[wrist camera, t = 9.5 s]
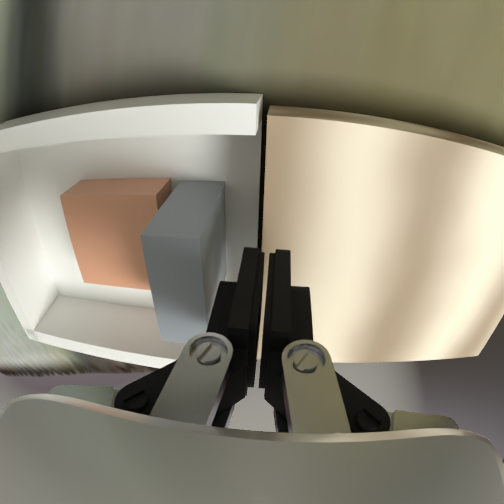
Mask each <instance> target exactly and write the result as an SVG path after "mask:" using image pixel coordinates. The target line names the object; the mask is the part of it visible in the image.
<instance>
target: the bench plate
mask: <svg viewBox="0 0 504 504" xmlns="http://www.w3.org/2000/svg"><path fill="white" fill-rule="evenodd" d="M276 249H282V250H290V251H291V286H302V287H309V288H310V297H311V311H312V325H313V341H315V342H318V343H320V344H321V345H323V346H324V347H325V348H326V349H327V350H328V352H329V354H330V356H331V359H332V362H399V361H420V360H436V359H449V358H460V357H470V356H478V355H479V353H480V352H481V350H482V349H483V347H484V346H485V344H486V342H487V341H488V339H489V338H490V336H491V334H492V333H493V331H494V330H495V328H496V326H497V325H498V323H499V321H500V319H501V318H502V316H503V314H504V147H502V146H499V145H496V144H493V143H489V142H486V141H483V140H479V139H476V138H472V137H469V136H465V135H461V134H458V133H454V132H450V131H446V130H442V129H437V128H433V127H429V126H424V125H419V124H415V123H410V122H405V121H399V120H394V119H388V118H382V117H376V116H370V115H363V114H356V113H349V112H341V111H333V110H323V109H313V108H302V107H289V106H272V105H270V107H269V111H268V115H267V137H266V162H265V186H264V209H263V231H262V252H265V257H264V276H263V293H262V310H261V321H260V331H259V341H258V351H257V359H261V350H262V336H263V323H264V312H265V300H266V289H267V277H268V265H269V253H275V250H276Z"/></svg>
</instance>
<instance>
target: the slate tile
mask: <svg viewBox="0 0 504 504" xmlns="http://www.w3.org/2000/svg"><path fill="white" fill-rule="evenodd" d="M140 237H141V243H142V248H143V254H144V259H145V264H146V270H147V275H148V280H149V285H150V289H151V294H152V299H153V303H154V308H155V312H156V316H157V321H158V325H159V329H160V333H161V337H162V341H168V342H176V343H184V344H186V343H187V342H188V340H189V339H191V338H192V337H193V336H195V335H198V334H200V333H206V331H207V327H208V323H209V319H210V315H211V312H212V308H213V304H214V300H215V297H216V293H217V289H218V285H219V282H220V281H225V279H226V274H227V262H226V215H225V181H194V180H181V182H180V183H179V184H178V185H177V187H176V188H175V189H174V190H173V192H172V193H171V194H170V196H169V197H168V198H167V200H166V201H165V202H164V204H163V205H162V206H161V207H160V209H159V210H158V211H157V213H156V214H155V216H154V217H153V218H152V220H151V221H150V222H149V224H148V225H147V226H146V228H145V229H144V231H143V232H142V233H141V235H140Z"/></svg>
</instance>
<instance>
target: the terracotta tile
mask: <svg viewBox="0 0 504 504" xmlns="http://www.w3.org/2000/svg"><path fill="white" fill-rule="evenodd" d="M171 193H172V187H171V178H118V179H89V180H80V181H79V182H77V183H76V184H75V185H73V186H72V187H71V188H69V189H68V190H67V191H65V192H64V193H63V194H61V195H60V199H61V204H62V208H63V212H64V216H65V220H66V224H67V228H68V232H69V235H70V239H71V242H72V246H73V249H74V253H75V256H76V259H77V263H78V266H79V269H80V272H81V275H82V278H83V281H84V283H91V284H99V285H108V286H117V287H125V288H135V289H144V290H151V289H150V285H149V280H148V275H147V270H146V264H145V259H144V254H143V248H142V243H141V237H140V235H141V233H142V232H143V231H144V229H145V228H146V226H147V225H148V224H149V222H150V221H151V220H152V218H153V217H154V216H155V214H156V213H157V211H158V210H159V209H160V207H161V206H162V205H163V204H164V202H165V201H166V200H167V198H168V197H169V196H170V194H171Z"/></svg>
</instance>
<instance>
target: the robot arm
mask: <svg viewBox="0 0 504 504" xmlns="http://www.w3.org/2000/svg"><path fill="white" fill-rule="evenodd" d="M264 257H265V252H259V248H253V247H244V250H243V255H242V260H241V264H240V269H239V274H238V279H237V282H231V281H220V282H219V285H218V289H217V293H216V297H215V300H214V304H213V308H212V312H211V315H210V319H209V323H208V327H207V331H206V333H200V334H198V335H195V336H193V337H192V338H191V339H189V340H188V342H187V343H186V344H185V346H184V348H183V350H182V352H181V354H180V356H179V358H178V360H176V361H174V362H172V363H170V364H168V365H166V366H164V367H162V368H160V369H158V370H156V371H154V372H152V373H150V374H148V375H147V376H144V377H142V378H141V379H138V380H137V381H134V382H132V383H130V384H128V385H126V386H125V387H123V388H122V389H121V390H115V389H114V387H100V386H76V385H60V386H57V387H55V388H53V389H52V390H51V391H50V392H49V394H32V395H25V396H21V397H17V398H15V399H13V400H12V401H10V402H9V403H7V404H6V405H5V407H4V408H3V409H2V410H1V412H0V504H504V465H503V462H502V460H501V457H500V455H499V453H498V451H497V449H496V447H495V446H494V445H493V444H492V442H491V441H490V440H488V439H487V438H485V437H483V436H481V435H479V434H476V433H473V432H469V431H465V430H459V427H458V425H457V424H456V422H455V421H454V420H452V419H451V418H449V417H446V416H440V415H430V414H422V413H414V412H406V411H399V410H395V411H394V412H393V413H392V412H387V411H386V410H385V409H384V408H383V407H382V406H381V405H379V404H378V403H377V402H375V401H374V400H372V399H371V398H370V397H369V396H367V395H366V394H365V393H363V392H362V391H361V390H359V389H358V388H357V387H355V386H354V385H353V384H351V383H350V382H349V381H347V380H346V379H345V378H343V377H342V376H341V375H339V374H338V373H337V372H336V371H335V370H334V367H333V363H332V359H331V356H330V354H329V352H328V350H327V349H326V348H325V347H324V346H323V345H321V344H320V343H318V342H315V341H313V325H312V311H311V297H310V288H309V287H302V286H291V251H290V250H282V249H276V250H275V253H269V265H268V277H267V289H266V300H265V312H264V323H263V336H262V350H261V364H260V378H259V388H265V394H264V397H265V400H266V401H267V402H268V403H269V404H270V405H272V406H273V407H274V411H273V413H274V420H275V429H276V432H262V431H250V430H239V429H229V428H228V426H229V423H230V420H231V417H232V414H233V411H234V407H235V403H237V402H239V401H240V400H241V399H243V398H245V395H247V388H248V387H254V380H255V370H256V361H257V351H258V341H259V331H260V321H261V310H262V293H263V276H264Z"/></svg>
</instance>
